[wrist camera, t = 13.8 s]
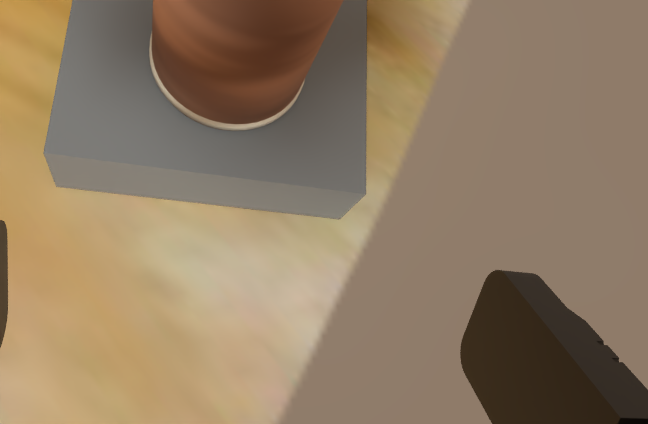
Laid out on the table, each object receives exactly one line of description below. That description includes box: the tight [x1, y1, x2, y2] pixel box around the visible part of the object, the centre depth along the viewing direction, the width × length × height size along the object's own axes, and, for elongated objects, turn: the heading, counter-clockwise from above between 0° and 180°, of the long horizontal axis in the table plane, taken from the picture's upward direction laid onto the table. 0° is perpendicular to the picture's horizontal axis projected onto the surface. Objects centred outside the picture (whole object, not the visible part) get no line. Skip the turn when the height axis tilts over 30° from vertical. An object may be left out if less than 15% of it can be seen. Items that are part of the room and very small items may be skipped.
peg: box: [149, 0, 343, 131], centre depth 23 cm, size 6×6×10 cm
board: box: [44, 0, 367, 219], centre depth 26 cm, size 12×10×4 cm
